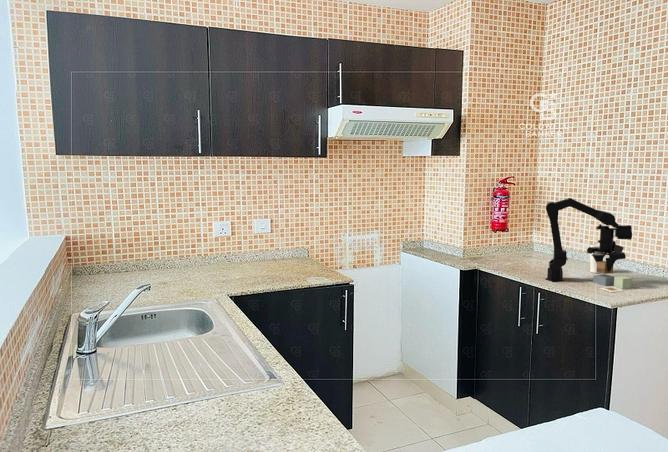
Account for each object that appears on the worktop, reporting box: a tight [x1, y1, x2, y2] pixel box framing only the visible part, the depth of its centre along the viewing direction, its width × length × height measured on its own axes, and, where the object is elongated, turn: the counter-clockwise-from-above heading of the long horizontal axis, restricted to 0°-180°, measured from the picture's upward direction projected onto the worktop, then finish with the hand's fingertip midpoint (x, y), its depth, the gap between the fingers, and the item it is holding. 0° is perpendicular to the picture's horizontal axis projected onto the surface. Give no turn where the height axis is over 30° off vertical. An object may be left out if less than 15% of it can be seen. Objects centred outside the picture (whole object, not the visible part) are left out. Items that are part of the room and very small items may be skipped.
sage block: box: [613, 275, 633, 290], centre depth 235 cm, size 5×5×5 cm
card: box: [599, 286, 625, 293], centre depth 232 cm, size 7×7×1 cm
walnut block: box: [596, 260, 614, 275], centre depth 243 cm, size 5×5×5 cm
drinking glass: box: [589, 243, 604, 274], centre depth 267 cm, size 7×7×15 cm
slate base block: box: [592, 273, 616, 287], centre depth 244 cm, size 7×7×4 cm
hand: (604, 270), depth 243 cm, fingers closed on walnut block, 5 cm apart
